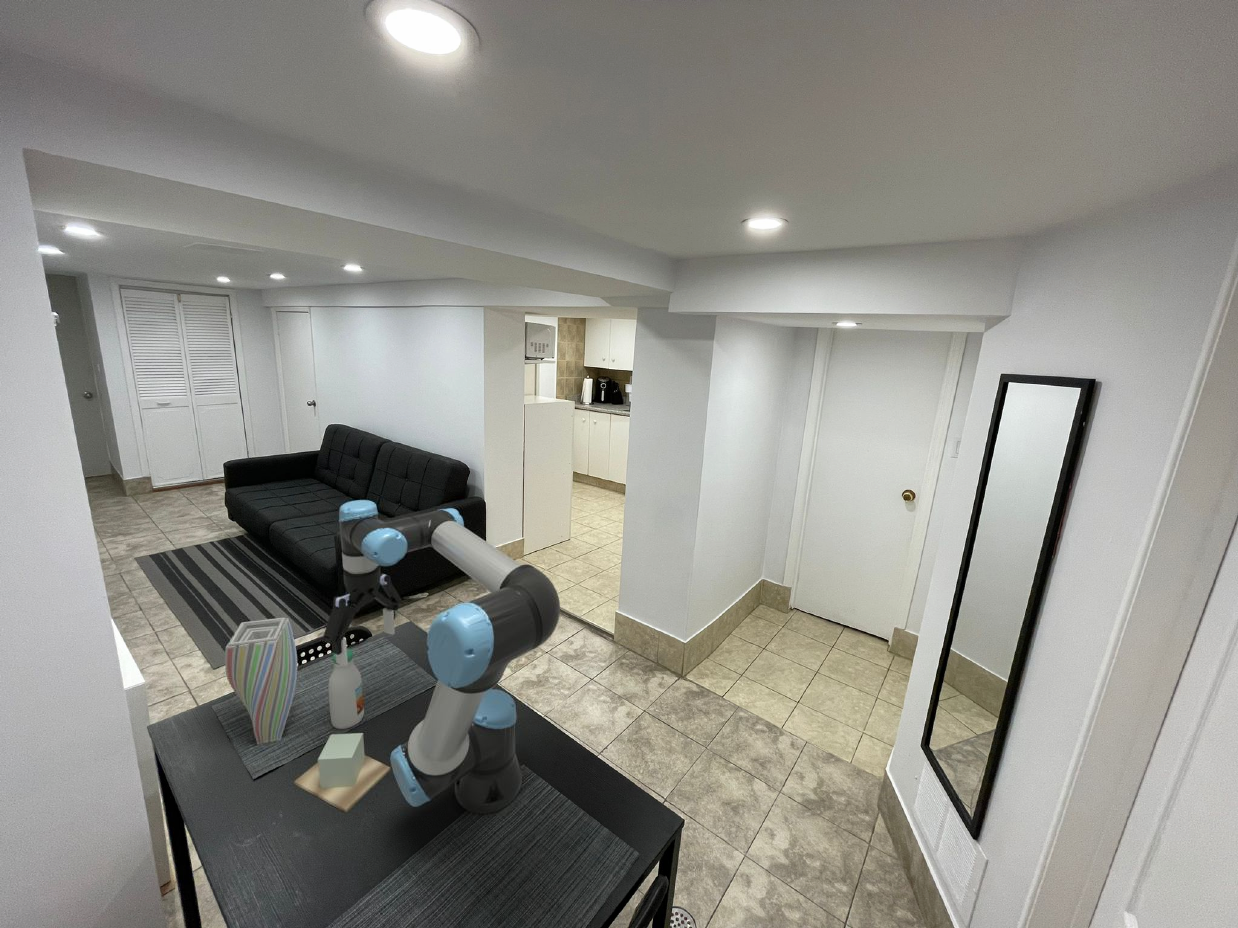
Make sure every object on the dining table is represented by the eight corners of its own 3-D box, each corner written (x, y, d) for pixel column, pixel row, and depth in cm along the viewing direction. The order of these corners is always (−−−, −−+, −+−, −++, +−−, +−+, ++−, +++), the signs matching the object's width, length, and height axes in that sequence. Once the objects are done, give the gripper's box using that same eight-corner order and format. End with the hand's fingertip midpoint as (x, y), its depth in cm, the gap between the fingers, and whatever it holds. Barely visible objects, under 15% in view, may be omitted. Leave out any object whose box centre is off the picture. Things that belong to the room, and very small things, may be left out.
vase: (297, 748, 121) (285, 642, 114) (229, 762, 116) (212, 652, 109) (308, 709, 133) (297, 611, 126) (247, 720, 128) (233, 618, 121)
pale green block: (333, 762, 117) (330, 734, 115) (364, 760, 119) (363, 732, 117) (320, 788, 111) (317, 759, 109) (354, 786, 112) (351, 757, 110)
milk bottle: (350, 732, 127) (345, 665, 122) (324, 726, 128) (317, 659, 123) (370, 711, 134) (366, 647, 129) (345, 705, 136) (340, 641, 131)
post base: (390, 769, 118) (389, 748, 116) (346, 812, 107) (344, 789, 105) (341, 745, 123) (339, 724, 121) (294, 784, 112) (291, 761, 111)
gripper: (392, 544, 126) (395, 617, 132) (298, 586, 104) (306, 673, 109) (415, 550, 124) (417, 625, 129) (324, 595, 101) (331, 683, 106)
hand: (366, 647), depth 119 cm, fingers open, 13 cm apart
